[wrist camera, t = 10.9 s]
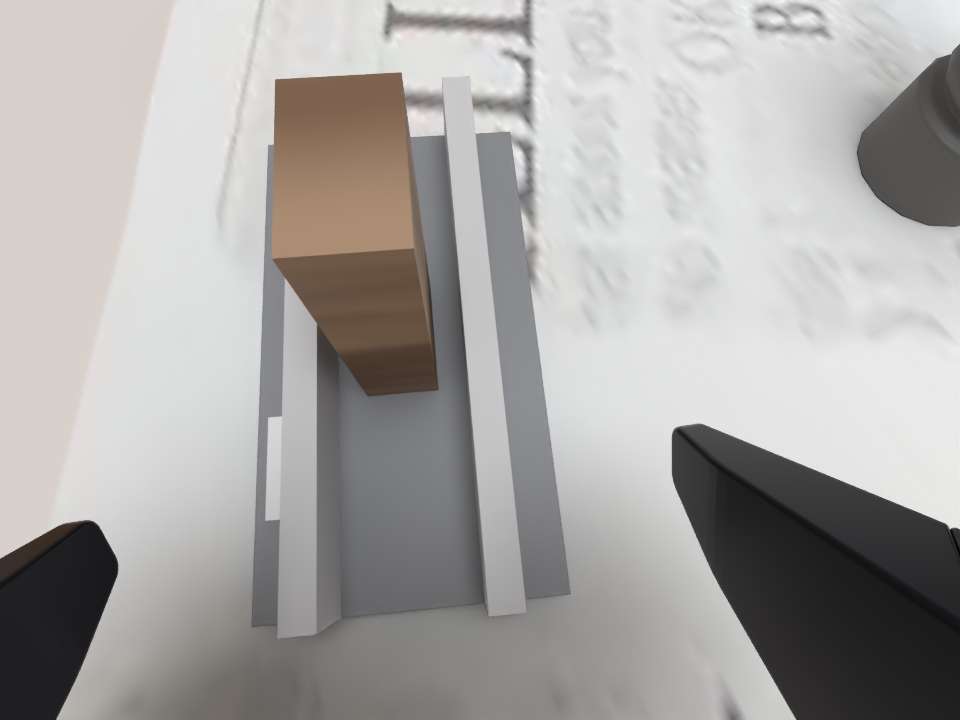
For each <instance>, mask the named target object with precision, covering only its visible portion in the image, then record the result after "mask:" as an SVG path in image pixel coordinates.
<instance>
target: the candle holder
mask: <svg viewBox="0 0 960 720" xmlns="http://www.w3.org/2000/svg"><path fill="white" fill-rule="evenodd" d="M857 154H858V159H859V163H860V167H861V172H862V176H863V177H864V178H865V180H866V181H867V183H868V184H869V186H870V187H871V188H872V190H873V191H874V193H875V194H876V196H877V197H878V198H879V199H881V200H882V201H883V202H885V203H886V204H887V205H889V206H890V207H891V208H893V209H894V210H895V211H896V212H898V213H899V214H900V215H903V216H905V217H908V218H911V219H913V220H916V221H919V222H921V223H924V224H927V225H936V226H958V225H960V44H959V45H958V46H957V47H956V48H955V49H954V51H953V52H952V54H950V55H947V56H944V57H940V58H937V59H936V60H935V61H934V62H933V63H932V64H931V65H929V66H928V67H927V68H926V69H925V70H924V71H923V72H922V73H921V74H920V75H919V76H918V77H917V78H916V79H915V80H914V81H913V82H912V83H911V84H910V85H909V86H908V87H907V88H906V89H905V90H904V91H903V92H902V93H901V94H900V95H899V96H898V97H897V99H896V100H895V101H894V102H893V103H892V104H891V105H890V106H889V107H888V108H887V109H886V110H885V111H884V112H883V113H882V114H881V115H880V116H879V117H878V118H877V119H876V120H875V121H874V122H873V123H872V124H871V125H870V126H869V127H868V128H867V129H866V130H865V131H864V132H863V133H862V136H861V140H860V144H859V148H858V151H857Z"/></svg>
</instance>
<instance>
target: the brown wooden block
mask: <svg viewBox="0 0 960 720" xmlns="http://www.w3.org/2000/svg"><path fill="white" fill-rule="evenodd" d="M272 260H273V261H274V263H275V264H276V266H277V267H278V268H279V270H280V271H281V273H282V274H283V276H284V277H285V278H286V280H287V281H288V283H289V284H290V286H291V287H292V289H293V290H294V291H295V293H296V294H297V296H298V297H299V299H300V300H301V301H302V303H303V304H304V306H305V307H306V309H307V310H308V311H309V313H310V314H311V316H312V317H313V319H314V320H315V321H316V323H317V324H318V326H319V327H320V329H321V330H322V332H323V333H324V334H325V336H326V337H327V339H328V340H329V342H330V343H331V344H332V346H333V347H334V349H335V350H336V352H337V353H338V354H339V356H340V357H341V359H342V360H343V362H344V363H345V365H346V366H347V367H348V369H349V370H350V372H351V373H352V375H353V376H354V377H355V379H356V380H357V382H358V383H359V385H360V386H361V387H362V389H363V390H364V392H365V393H366V395H367V396H379V395H390V394H402V393H413V392H424V391H435V390H439V388H438V376H437V363H436V350H435V338H434V325H433V313H432V300H431V288H430V280H429V273H428V265H427V258H426V251H425V243H424V236H423V228H422V221H421V214H420V206H419V199H418V191H417V184H416V177H415V169H414V162H413V154H412V147H411V140H410V132H409V125H408V117H407V110H406V103H405V95H404V88H403V81H402V73H384V74H366V75H347V76H329V77H311V78H293V79H275V119H274V170H273V221H272Z"/></svg>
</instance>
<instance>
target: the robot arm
mask: <svg viewBox="0 0 960 720" xmlns="http://www.w3.org/2000/svg"><path fill="white" fill-rule="evenodd" d="M672 477H673V482H674V485H675V488H676V490H677V493H678V495H679V497H680V499H681V502H682V504H683V506H684V509H685V511H686V513H687V516H688V518H689V520H690V523H691V525H692V527H693V530H694V532H695V534H696V537H697V539H698V541H699V543H700V546H701V548H702V550H703V553H704V555H705V557H706V560H707V562H708V564H709V566H710V568H711V570H712V573H713V575H714V577H715V578H716V580H717V582H718V584H719V586H720V588H721V590H722V591H723V593H724V595H725V596H726V598H727V600H728V602H729V603H730V605H731V607H732V609H733V610H734V612H735V614H736V616H737V617H738V619H739V621H740V623H741V624H742V626H743V628H744V630H745V631H746V633H747V635H748V637H749V638H750V640H751V642H752V644H753V645H754V647H755V649H756V650H757V652H758V654H759V656H760V657H761V659H762V661H763V663H764V664H765V666H766V668H767V670H768V671H769V673H770V675H771V677H772V678H773V680H774V682H775V684H776V685H777V687H778V689H779V691H780V692H781V694H782V696H783V698H784V699H785V701H786V703H787V705H788V706H789V708H790V710H791V711H792V713H793V715H794V717H795V718H796V720H960V529H958V528H951V529H950V528H949V527H948V525H947V524H945V523H943V522H940V521H938V520H935V519H933V518H930V517H928V516H926V515H923V514H921V513H918V512H916V511H913V510H911V509H909V508H906V507H904V506H901V505H899V504H896V503H894V502H891V501H889V500H887V499H884V498H882V497H879V496H877V495H874V494H872V493H869V492H867V491H865V490H862V489H860V488H857V487H855V486H852V485H850V484H847V483H845V482H843V481H840V480H838V479H835V478H833V477H830V476H828V475H826V474H823V473H821V472H818V471H816V470H813V469H811V468H808V467H806V466H804V465H801V464H799V463H796V462H794V461H791V460H789V459H786V458H784V457H782V456H779V455H777V454H774V453H772V452H769V451H767V450H764V449H762V448H760V447H757V446H755V445H752V444H750V443H747V442H745V441H743V440H740V439H738V438H735V437H733V436H730V435H728V434H725V433H723V432H721V431H718V430H716V429H713V428H711V427H708V426H706V425H703V424H692V425H686V426H680V427H676V428H675V429H674V430H673V433H672ZM117 575H118V561H117V558H116V556H115V554H114V552H113V551H112V549H111V547H110V545H109V543H108V541H107V540H106V538H105V536H104V534H103V532H102V531H101V529H100V527H99V526H98V524H96V523H95V522H93V521H90V520H84V521H78V522H71V523H65V524H62V525H60V526H58V527H56V528H54V529H52V530H50V531H49V532H47V533H45V534H43V535H42V536H40V537H38V538H36V539H34V540H33V541H31V542H29V543H27V544H26V545H24V546H22V547H20V548H19V549H17V550H15V551H13V552H11V553H9V554H8V555H6V556H4V557H3V558H1V559H0V720H56V719H57V717H58V715H59V713H60V711H61V709H62V707H63V705H64V703H65V701H66V699H67V697H68V695H69V693H70V691H71V688H72V686H73V684H74V682H75V680H76V678H77V676H78V674H79V671H80V669H81V666H82V664H83V662H84V659H85V657H86V654H87V652H88V649H89V647H90V644H91V642H92V639H93V637H94V634H95V631H96V629H97V626H98V624H99V621H100V619H101V616H102V614H103V611H104V609H105V606H106V603H107V601H108V598H109V596H110V593H111V591H112V588H113V586H114V583H115V580H116V578H117Z"/></svg>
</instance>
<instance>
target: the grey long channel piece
mask: <svg viewBox="0 0 960 720" xmlns="http://www.w3.org/2000/svg"><path fill="white" fill-rule="evenodd" d="M442 88H443V109H444V130H445V135H444V136H426V137H410V140H411V147H412V154H413V162H414V169H415V177H416V184H417V191H418V199H419V206H420V214H421V221H422V228H423V236H424V243H425V251H426V258H427V265H428V273H429V280H430V288H431V300H432V313H433V325H434V338H435V350H436V363H437V376H438V388H439V390H435V391H424V392H413V393H402V394H390V395H379V396H367V395H366V393H365V392H364V390H363V389H362V387H361V386H360V385H359V383H358V382H357V380H356V379H355V377H354V376H353V375H352V373H351V372H350V370H349V369H348V367H347V366H346V365H345V363H344V362H343V360H342V359H341V357H340V356H339V354H338V353H337V352H336V350H335V349H334V347H333V346H332V344H331V343H330V342H329V340H328V339H327V337H326V336H325V334H324V333H323V332H322V330H321V329H320V327H319V326H318V324H317V323H316V321H315V320H314V319H313V317H312V316H311V314H310V313H309V311H308V310H307V309H306V307H305V306H304V304H303V303H302V301H301V300H300V299H299V297H298V296H297V294H296V293H295V291H294V290H293V289H292V287H291V286H290V284H289V283H288V281H287V280H286V278H285V277H284V276H283V274H282V273H281V271H280V270H279V268H278V267H277V266H276V264H275V263H274V261H273V260H272V221H273V170H274V145H268V167H267V196H266V225H265V254H264V283H263V312H262V341H261V370H260V399H259V427H258V456H257V485H256V514H255V543H254V572H253V601H252V627H256V626H266V625H276V624H277V639H281V638H290V637H300V636H310V635H317V634H318V633H320V632H321V631H323V630H324V629H326V628H327V627H329V626H330V625H332V624H333V623H334V622H336V621H337V620H339V619H340V618H344V617H354V616H363V615H373V614H383V613H393V612H402V611H412V610H422V609H432V608H441V607H451V606H461V605H471V604H480V603H485V605H486V608H487V611H488V615H489V617H492V616H502V615H511V614H521V613H527V611H526V601H525V599H529V598H539V597H548V596H558V595H568V594H571V593H570V586H569V578H568V570H567V563H566V555H565V547H564V540H563V532H562V524H561V517H560V509H559V502H558V494H557V486H556V479H555V471H554V463H553V456H552V448H551V440H550V433H549V425H548V418H547V410H546V402H545V395H544V387H543V379H542V372H541V364H540V356H539V349H538V341H537V334H536V326H535V318H534V311H533V303H532V295H531V288H530V280H529V273H528V265H527V257H526V250H525V242H524V234H523V227H522V219H521V211H520V204H519V196H518V189H517V181H516V173H515V166H514V158H513V150H512V143H511V135H510V132H499V133H480V134H475V125H474V116H473V106H472V97H471V88H470V78H469V76H466V77H445V78H442Z"/></svg>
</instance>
